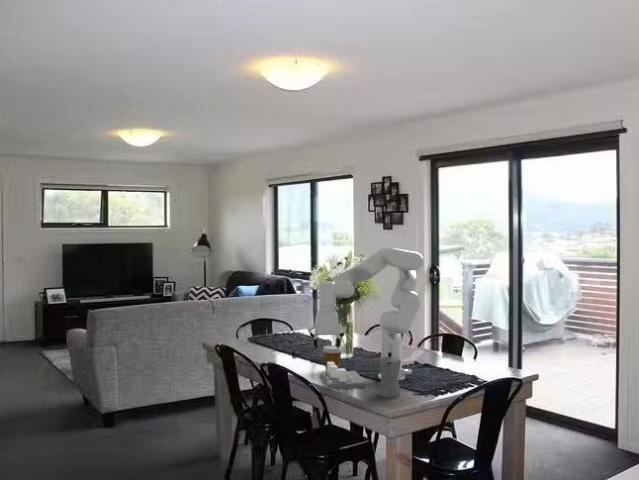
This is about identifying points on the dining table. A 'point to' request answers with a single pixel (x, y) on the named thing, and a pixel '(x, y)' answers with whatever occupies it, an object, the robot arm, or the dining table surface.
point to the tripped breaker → (341, 375)
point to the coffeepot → (389, 376)
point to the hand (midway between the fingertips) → (326, 347)
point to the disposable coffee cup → (332, 355)
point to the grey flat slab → (351, 382)
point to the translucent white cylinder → (411, 358)
